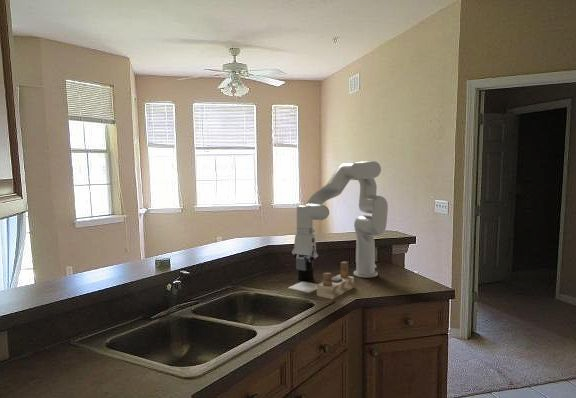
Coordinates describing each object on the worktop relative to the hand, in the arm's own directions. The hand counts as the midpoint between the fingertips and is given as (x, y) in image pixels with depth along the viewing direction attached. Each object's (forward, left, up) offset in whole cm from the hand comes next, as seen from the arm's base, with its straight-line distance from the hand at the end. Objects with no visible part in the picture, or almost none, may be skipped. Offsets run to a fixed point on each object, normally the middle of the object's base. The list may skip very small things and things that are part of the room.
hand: (304, 268), depth 181 cm
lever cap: (0, 0, 0) cm, 0 cm away
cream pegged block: (-3, +15, -9) cm, 18 cm away
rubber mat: (0, 0, -9) cm, 9 cm away
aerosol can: (-12, -8, -10) cm, 17 cm away
